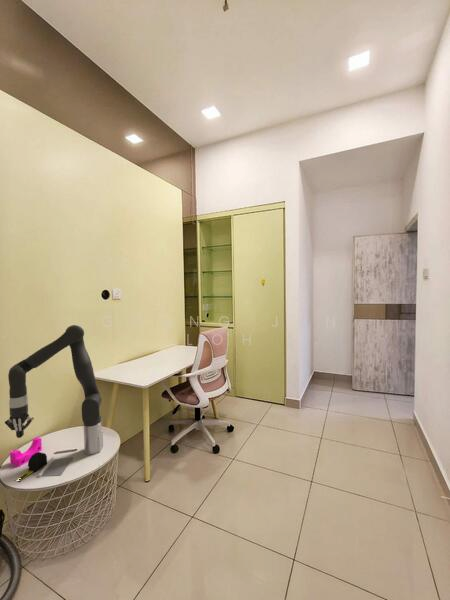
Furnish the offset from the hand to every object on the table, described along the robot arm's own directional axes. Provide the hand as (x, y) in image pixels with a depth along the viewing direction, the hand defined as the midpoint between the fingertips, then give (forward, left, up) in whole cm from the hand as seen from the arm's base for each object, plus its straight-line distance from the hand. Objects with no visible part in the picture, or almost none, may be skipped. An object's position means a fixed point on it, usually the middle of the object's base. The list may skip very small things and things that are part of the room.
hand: (20, 437), depth 138 cm
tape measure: (-6, +3, -18) cm, 20 cm away
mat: (-17, 0, -18) cm, 25 cm away
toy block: (+3, -11, -19) cm, 22 cm away
